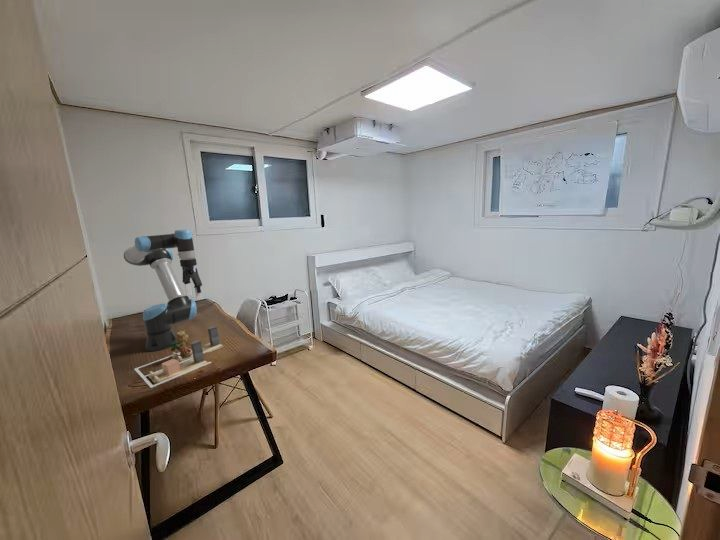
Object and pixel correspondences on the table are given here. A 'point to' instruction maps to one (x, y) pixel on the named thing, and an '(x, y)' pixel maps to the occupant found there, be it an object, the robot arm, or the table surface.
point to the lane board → (162, 370)
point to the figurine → (181, 344)
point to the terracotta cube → (171, 367)
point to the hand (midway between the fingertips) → (194, 296)
